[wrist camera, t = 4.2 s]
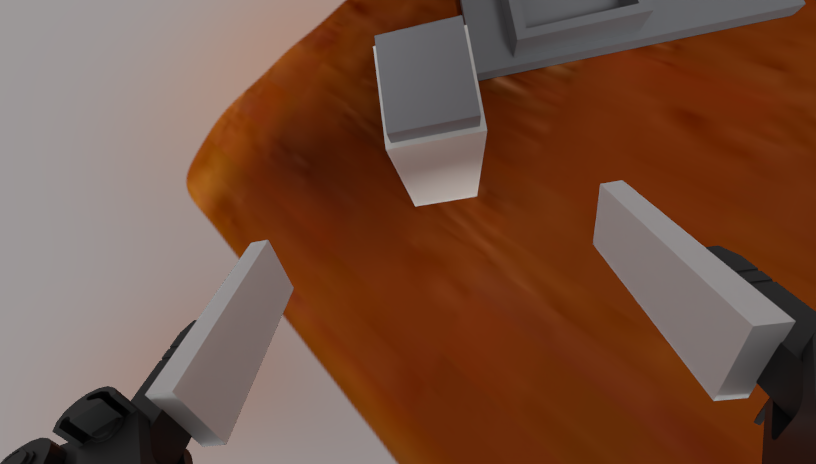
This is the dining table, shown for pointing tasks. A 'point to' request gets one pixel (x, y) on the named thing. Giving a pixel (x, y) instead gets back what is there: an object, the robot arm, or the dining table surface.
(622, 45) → the grey socket base plate
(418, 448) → the dining table surface
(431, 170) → the plug
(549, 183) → the dining table surface
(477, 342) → the dining table surface
